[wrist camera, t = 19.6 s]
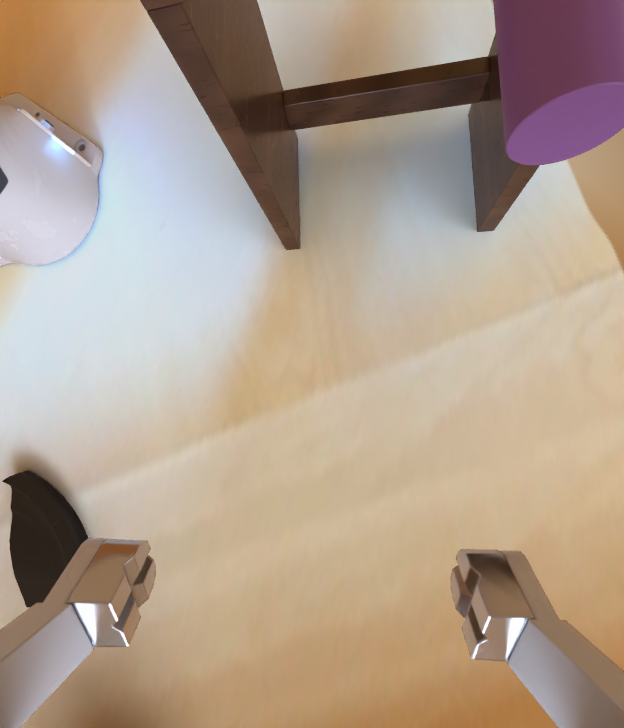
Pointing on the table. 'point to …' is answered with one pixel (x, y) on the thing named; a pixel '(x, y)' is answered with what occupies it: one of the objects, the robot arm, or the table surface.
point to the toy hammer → (559, 76)
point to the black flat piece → (40, 535)
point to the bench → (322, 106)
